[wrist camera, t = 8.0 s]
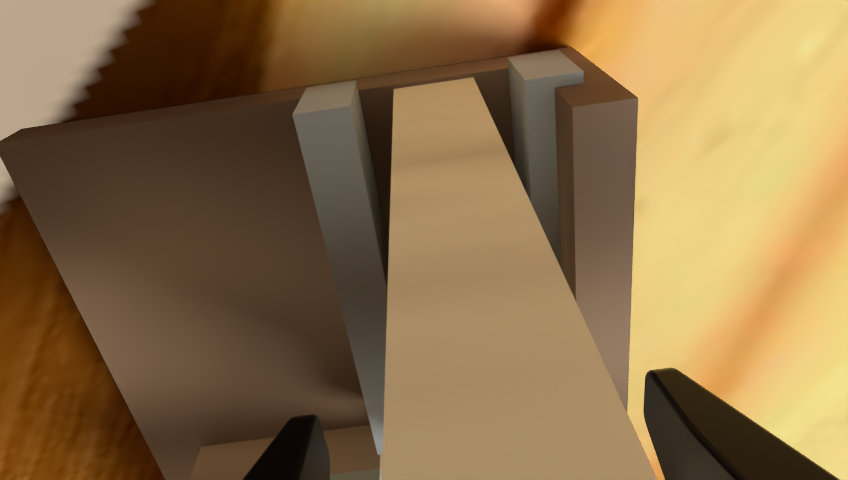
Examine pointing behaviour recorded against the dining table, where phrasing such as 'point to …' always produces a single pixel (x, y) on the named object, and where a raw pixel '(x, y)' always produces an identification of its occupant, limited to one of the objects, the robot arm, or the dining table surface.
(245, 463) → the oak offcut
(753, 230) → the dining table surface
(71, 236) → the walnut rack
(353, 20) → the dining table surface
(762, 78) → the dining table surface
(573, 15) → the dining table surface
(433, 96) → the birch sheet
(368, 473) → the sage offcut
